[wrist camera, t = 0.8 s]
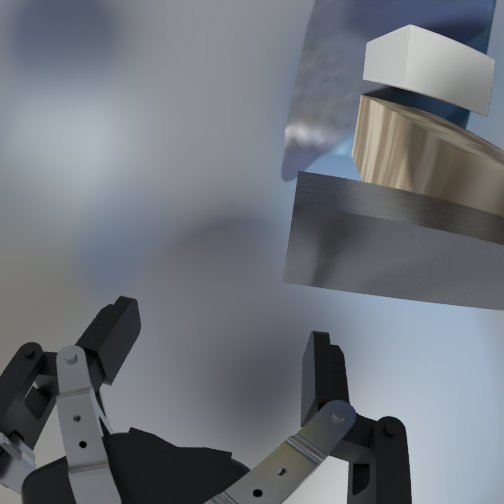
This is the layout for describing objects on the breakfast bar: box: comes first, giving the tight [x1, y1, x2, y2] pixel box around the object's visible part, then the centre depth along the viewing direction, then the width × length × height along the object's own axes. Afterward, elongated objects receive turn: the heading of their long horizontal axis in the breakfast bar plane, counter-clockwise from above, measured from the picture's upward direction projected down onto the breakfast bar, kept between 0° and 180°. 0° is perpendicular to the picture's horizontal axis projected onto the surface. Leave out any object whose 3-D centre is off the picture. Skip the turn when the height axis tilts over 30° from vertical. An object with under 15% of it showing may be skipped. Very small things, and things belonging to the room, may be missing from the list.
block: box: [363, 24, 495, 117], centre depth 26 cm, size 9×6×21 cm, turn 87°
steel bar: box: [283, 171, 504, 310], centre depth 13 cm, size 21×4×4 cm, turn 87°
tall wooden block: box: [352, 95, 504, 217], centre depth 27 cm, size 12×10×32 cm
